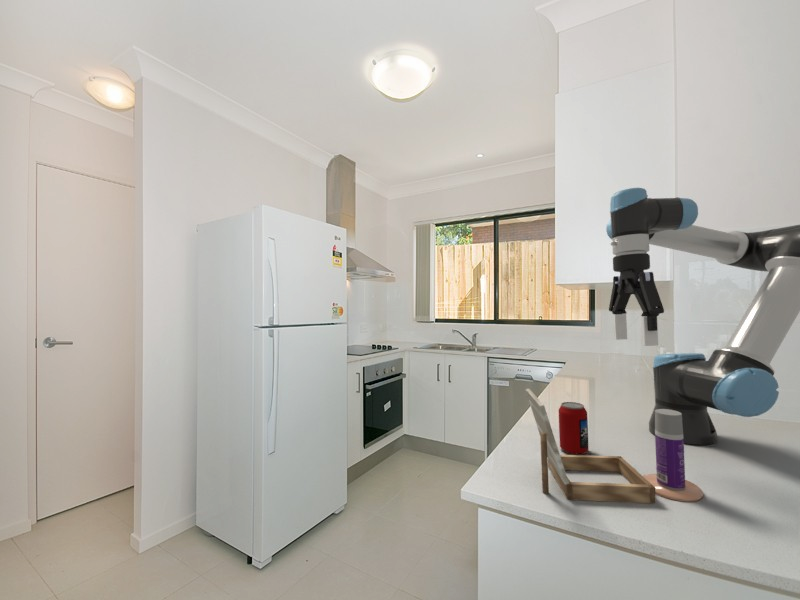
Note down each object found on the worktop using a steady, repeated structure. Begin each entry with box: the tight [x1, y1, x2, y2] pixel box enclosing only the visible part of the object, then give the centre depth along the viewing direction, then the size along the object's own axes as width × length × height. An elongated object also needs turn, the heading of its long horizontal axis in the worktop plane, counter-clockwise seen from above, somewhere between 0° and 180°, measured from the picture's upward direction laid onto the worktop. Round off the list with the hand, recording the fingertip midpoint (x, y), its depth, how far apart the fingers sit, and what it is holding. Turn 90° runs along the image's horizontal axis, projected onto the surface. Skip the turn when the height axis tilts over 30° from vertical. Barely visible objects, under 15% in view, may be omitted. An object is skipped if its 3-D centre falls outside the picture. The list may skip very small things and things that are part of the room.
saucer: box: [642, 473, 704, 503], centre depth 73 cm, size 10×10×1 cm
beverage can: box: [558, 401, 589, 455], centre depth 93 cm, size 7×7×12 cm
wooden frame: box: [525, 388, 657, 504], centre depth 77 cm, size 20×14×19 cm
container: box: [654, 409, 686, 491], centre depth 74 cm, size 5×5×15 cm
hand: (634, 342), depth 86 cm, fingers open, 13 cm apart
